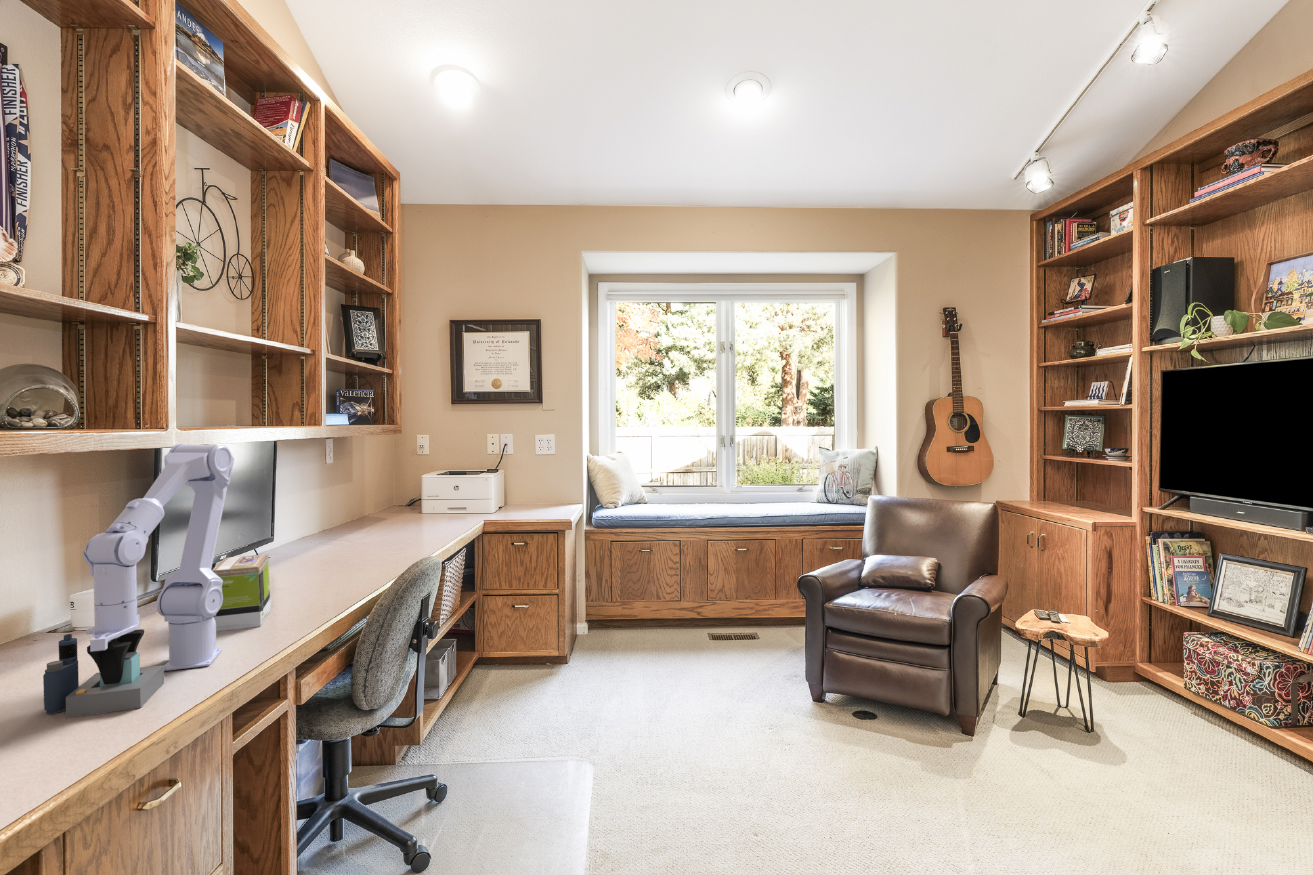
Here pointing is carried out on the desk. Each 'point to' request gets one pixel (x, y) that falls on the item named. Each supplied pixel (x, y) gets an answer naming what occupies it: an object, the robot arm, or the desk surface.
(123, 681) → the plug
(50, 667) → the vaping device
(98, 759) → the desk surface
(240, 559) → the tea box
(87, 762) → the desk surface
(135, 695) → the socket
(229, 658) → the desk surface
